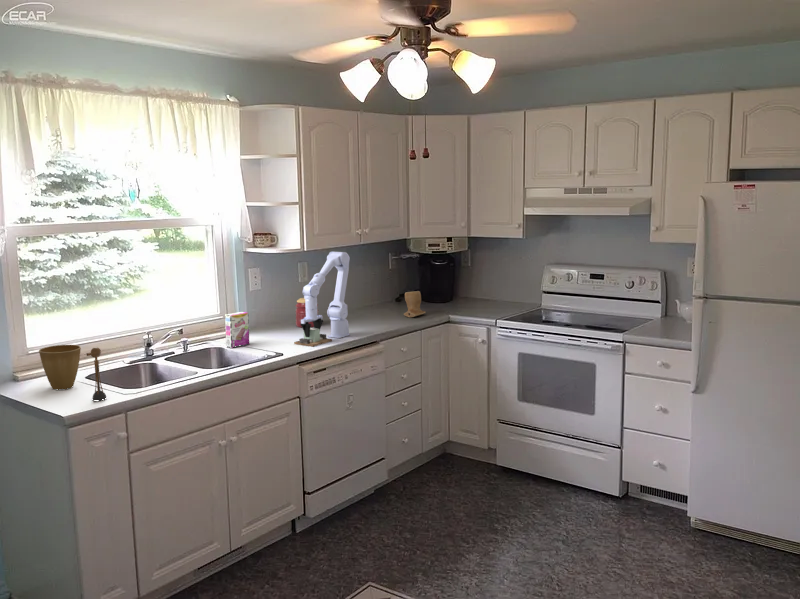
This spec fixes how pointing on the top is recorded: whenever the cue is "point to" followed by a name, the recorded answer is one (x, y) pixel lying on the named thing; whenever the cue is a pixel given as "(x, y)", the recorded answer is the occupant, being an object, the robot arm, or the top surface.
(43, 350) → the plant pot
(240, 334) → the candy bar box
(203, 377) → the top surface
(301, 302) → the canister
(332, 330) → the robot arm
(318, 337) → the module
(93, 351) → the wooden tabletop sculpture
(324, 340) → the rail board
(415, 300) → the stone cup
